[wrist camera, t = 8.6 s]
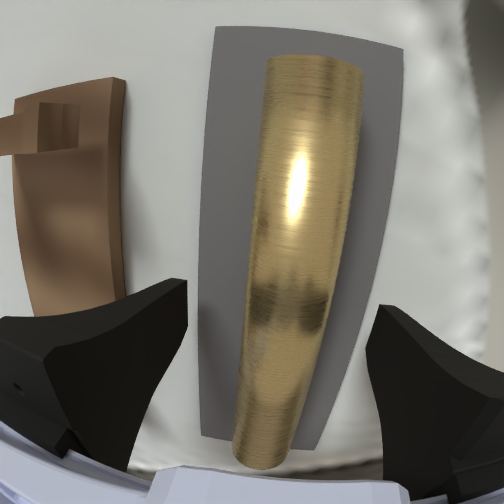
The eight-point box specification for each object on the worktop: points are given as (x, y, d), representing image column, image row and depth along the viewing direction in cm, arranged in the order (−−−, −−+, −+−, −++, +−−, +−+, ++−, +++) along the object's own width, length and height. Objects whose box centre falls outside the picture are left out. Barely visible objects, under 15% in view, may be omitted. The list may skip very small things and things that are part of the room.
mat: (314, 445, 16) (314, 450, 16) (202, 430, 17) (201, 435, 16) (399, 51, 9) (403, 49, 8) (218, 29, 9) (215, 26, 9)
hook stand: (142, 397, 16) (97, 478, 10) (62, 369, 17) (10, 430, 11) (125, 80, 10) (7, 54, 4) (28, 99, 11) (-72, 103, 5)
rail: (286, 427, 15) (290, 469, 12) (233, 425, 15) (231, 468, 12) (347, 85, 9) (379, 68, 7) (264, 73, 9) (269, 48, 6)
